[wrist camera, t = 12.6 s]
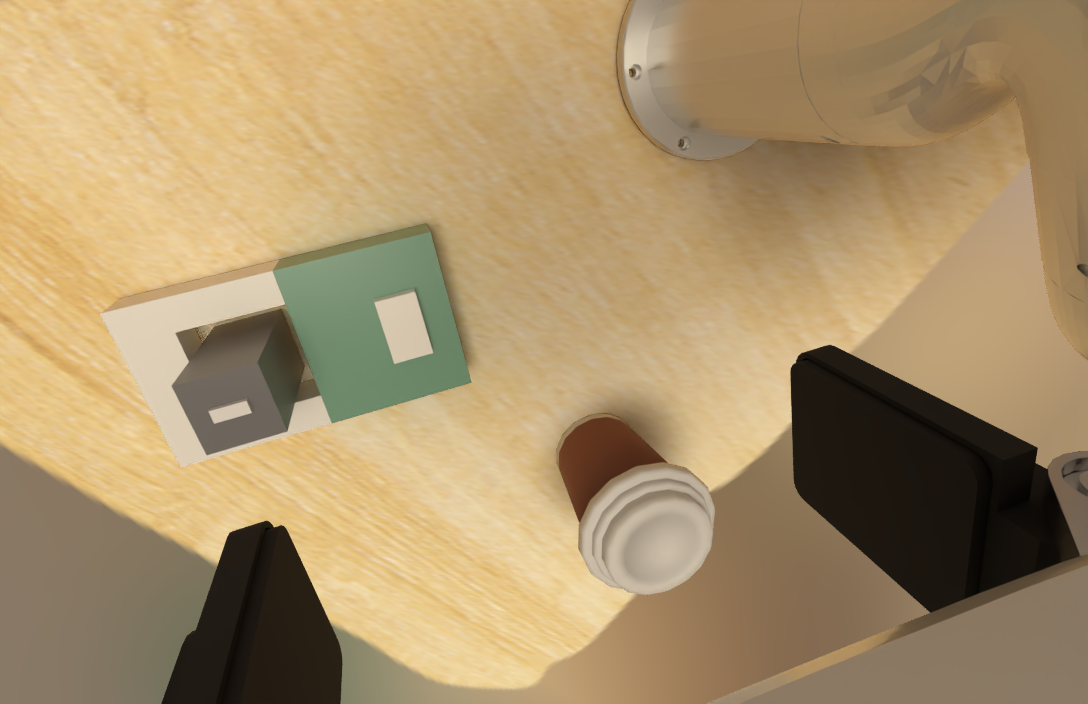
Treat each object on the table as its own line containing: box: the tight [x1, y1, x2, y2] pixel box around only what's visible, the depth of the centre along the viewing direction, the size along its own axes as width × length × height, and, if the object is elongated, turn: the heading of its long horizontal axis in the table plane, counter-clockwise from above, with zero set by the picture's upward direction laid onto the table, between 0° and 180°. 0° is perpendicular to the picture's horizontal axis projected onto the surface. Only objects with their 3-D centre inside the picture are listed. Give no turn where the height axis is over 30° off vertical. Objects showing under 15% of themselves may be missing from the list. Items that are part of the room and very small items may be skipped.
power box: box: [100, 224, 471, 467], centre depth 37 cm, size 18×10×4 cm, turn 102°
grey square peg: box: [172, 309, 304, 455], centre depth 34 cm, size 4×4×9 cm
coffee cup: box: [557, 413, 715, 595], centre depth 42 cm, size 9×9×12 cm
